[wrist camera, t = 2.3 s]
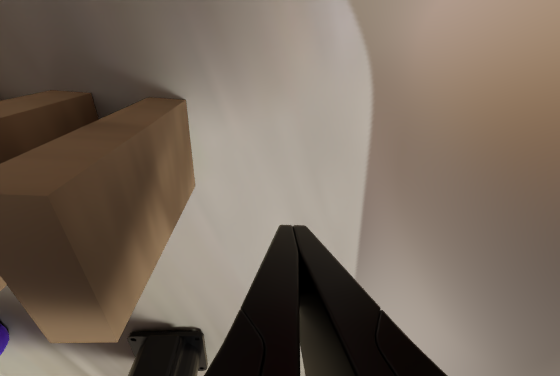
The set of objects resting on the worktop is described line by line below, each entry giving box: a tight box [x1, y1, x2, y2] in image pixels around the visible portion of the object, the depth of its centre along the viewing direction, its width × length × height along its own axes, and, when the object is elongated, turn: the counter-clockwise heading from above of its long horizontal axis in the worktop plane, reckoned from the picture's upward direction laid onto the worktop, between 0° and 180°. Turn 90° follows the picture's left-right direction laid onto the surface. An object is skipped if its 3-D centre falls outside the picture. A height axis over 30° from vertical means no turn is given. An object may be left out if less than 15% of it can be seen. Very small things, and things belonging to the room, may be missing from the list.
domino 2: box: [0, 97, 195, 343], centre depth 9 cm, size 5×2×9 cm, turn 175°
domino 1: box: [0, 90, 99, 291], centre depth 9 cm, size 5×2×9 cm, turn 175°
